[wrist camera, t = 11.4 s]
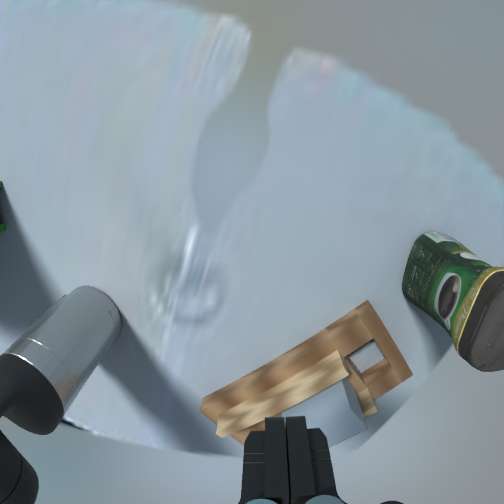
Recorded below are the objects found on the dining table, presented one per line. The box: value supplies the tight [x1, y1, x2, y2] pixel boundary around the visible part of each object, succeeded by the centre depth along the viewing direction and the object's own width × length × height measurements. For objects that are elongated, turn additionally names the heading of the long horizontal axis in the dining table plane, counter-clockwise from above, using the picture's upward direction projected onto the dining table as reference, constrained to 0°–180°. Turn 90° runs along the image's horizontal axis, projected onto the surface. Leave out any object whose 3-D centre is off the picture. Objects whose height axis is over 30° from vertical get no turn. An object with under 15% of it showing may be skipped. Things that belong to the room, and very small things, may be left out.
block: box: [281, 377, 368, 447], centre depth 36 cm, size 9×5×8 cm, turn 127°
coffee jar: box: [402, 232, 504, 372], centre depth 28 cm, size 10×8×19 cm
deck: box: [200, 300, 413, 445], centre depth 39 cm, size 28×14×7 cm, turn 127°
